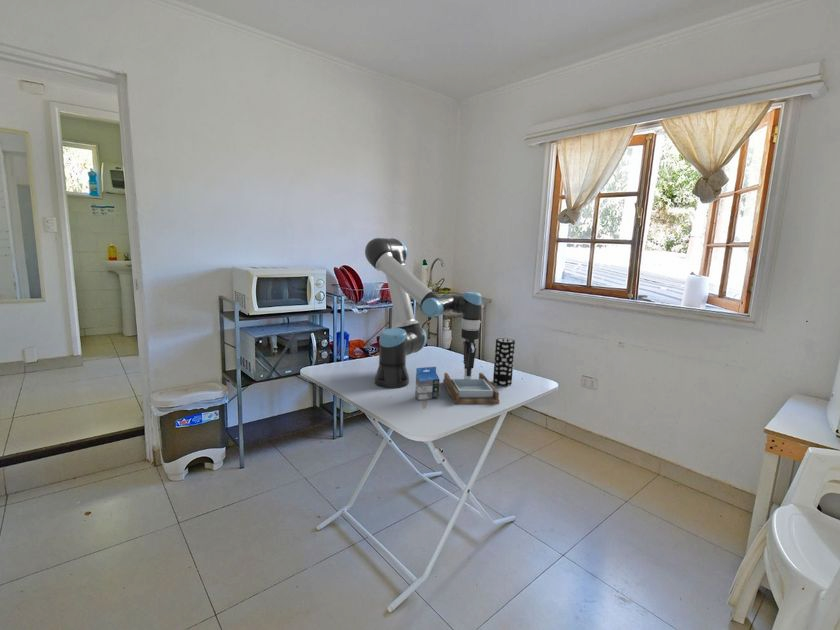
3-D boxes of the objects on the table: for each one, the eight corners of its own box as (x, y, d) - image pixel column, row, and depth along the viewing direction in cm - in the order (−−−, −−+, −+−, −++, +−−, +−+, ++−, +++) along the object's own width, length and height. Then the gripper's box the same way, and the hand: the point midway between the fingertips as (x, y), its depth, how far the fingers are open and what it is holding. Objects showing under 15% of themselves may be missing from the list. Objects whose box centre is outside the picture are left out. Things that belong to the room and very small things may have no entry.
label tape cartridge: (418, 401, 161) (419, 371, 159) (414, 397, 164) (415, 368, 162) (438, 398, 164) (440, 369, 162) (434, 395, 168) (436, 366, 166)
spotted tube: (502, 387, 180) (505, 343, 176) (489, 381, 187) (492, 339, 183) (515, 384, 184) (519, 341, 181) (502, 379, 191) (505, 337, 188)
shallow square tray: (458, 398, 161) (459, 390, 161) (451, 385, 175) (451, 379, 174) (493, 397, 163) (493, 390, 162) (483, 385, 177) (483, 379, 176)
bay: (454, 404, 159) (455, 393, 158) (443, 382, 184) (443, 372, 183) (499, 403, 161) (500, 392, 161) (482, 382, 186) (482, 372, 185)
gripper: (483, 332, 166) (479, 387, 170) (475, 325, 179) (472, 377, 183) (465, 332, 165) (462, 387, 169) (458, 325, 178) (455, 377, 182)
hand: (467, 382), depth 176 cm, fingers closed
